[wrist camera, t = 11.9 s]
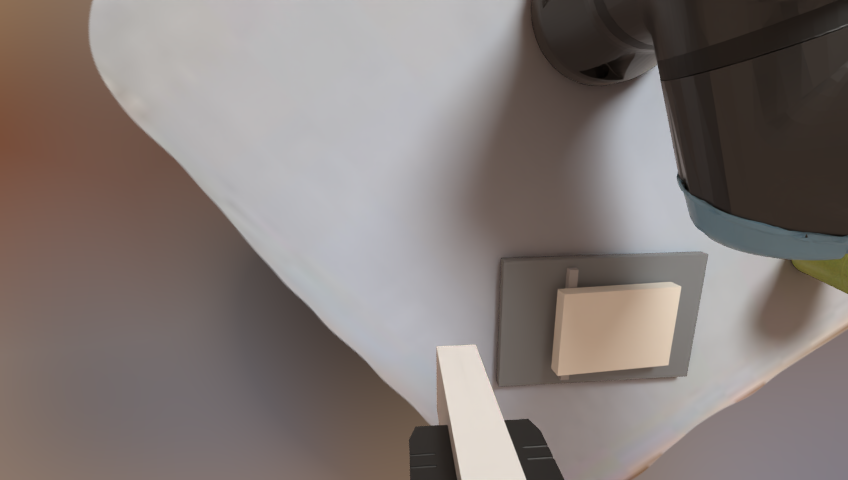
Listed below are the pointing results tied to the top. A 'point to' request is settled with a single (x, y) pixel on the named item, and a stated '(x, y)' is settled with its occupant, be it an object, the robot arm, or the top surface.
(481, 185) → the top surface
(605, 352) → the tile
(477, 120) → the top surface
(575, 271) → the board
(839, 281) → the plant pot
